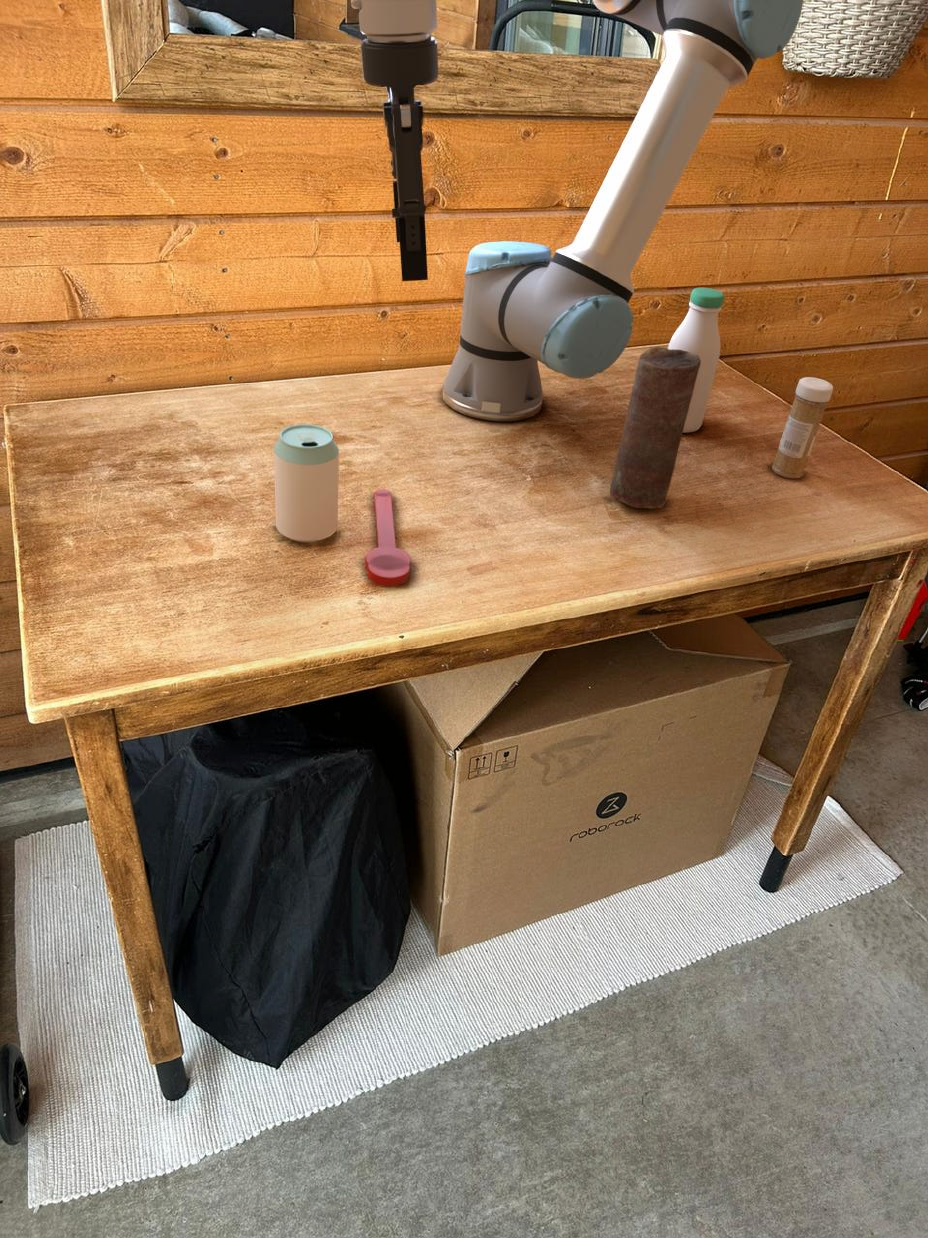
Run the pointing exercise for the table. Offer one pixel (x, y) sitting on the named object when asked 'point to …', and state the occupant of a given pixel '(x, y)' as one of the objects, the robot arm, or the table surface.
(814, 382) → the spice jar
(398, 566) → the spoon
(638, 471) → the candle
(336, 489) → the can
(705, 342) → the milk bottle
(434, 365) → the table surface
